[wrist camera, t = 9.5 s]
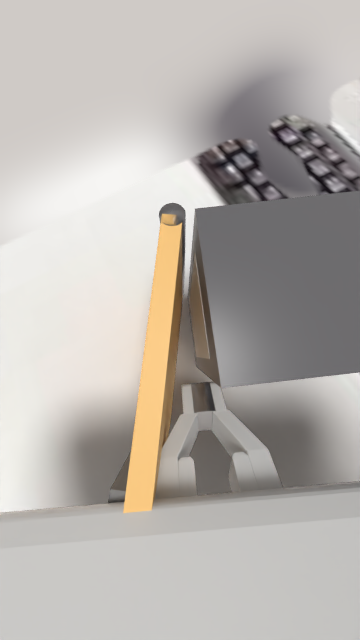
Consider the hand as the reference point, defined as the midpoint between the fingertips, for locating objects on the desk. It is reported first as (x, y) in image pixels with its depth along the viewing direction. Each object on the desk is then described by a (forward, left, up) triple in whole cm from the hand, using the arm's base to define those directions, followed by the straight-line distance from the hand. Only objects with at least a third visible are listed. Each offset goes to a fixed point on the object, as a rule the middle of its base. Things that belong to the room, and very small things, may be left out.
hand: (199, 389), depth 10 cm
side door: (+2, +2, -4) cm, 5 cm away
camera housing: (+4, -5, -5) cm, 8 cm away
